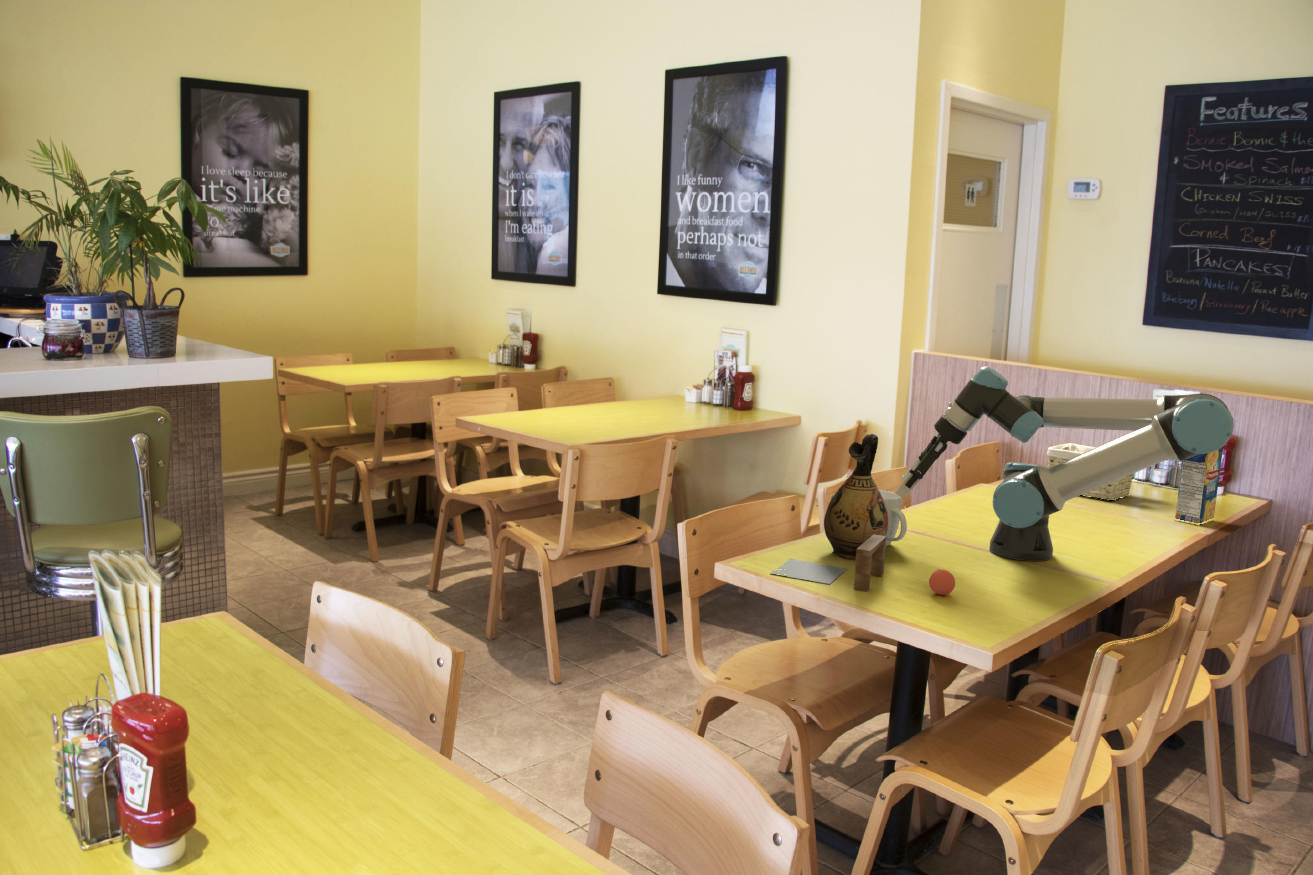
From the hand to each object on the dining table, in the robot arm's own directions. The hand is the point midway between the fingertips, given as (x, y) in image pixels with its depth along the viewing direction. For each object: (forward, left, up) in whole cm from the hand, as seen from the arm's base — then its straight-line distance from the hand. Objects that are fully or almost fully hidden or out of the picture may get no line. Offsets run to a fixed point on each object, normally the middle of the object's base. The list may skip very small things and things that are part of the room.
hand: (902, 488), depth 258 cm
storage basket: (-38, -104, -16) cm, 112 cm away
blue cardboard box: (-69, -82, -16) cm, 108 cm away
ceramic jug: (+8, +12, -16) cm, 21 cm away
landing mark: (+13, +33, -15) cm, 38 cm away
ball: (-17, +33, -13) cm, 39 cm away
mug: (+5, 0, -16) cm, 16 cm away
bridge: (-1, +33, -15) cm, 36 cm away
